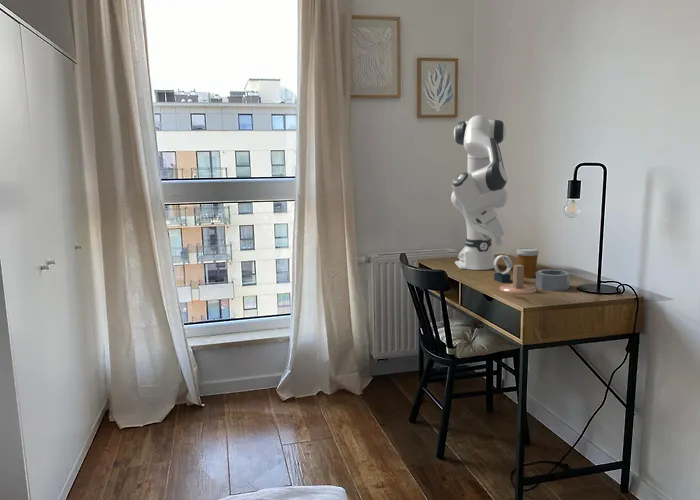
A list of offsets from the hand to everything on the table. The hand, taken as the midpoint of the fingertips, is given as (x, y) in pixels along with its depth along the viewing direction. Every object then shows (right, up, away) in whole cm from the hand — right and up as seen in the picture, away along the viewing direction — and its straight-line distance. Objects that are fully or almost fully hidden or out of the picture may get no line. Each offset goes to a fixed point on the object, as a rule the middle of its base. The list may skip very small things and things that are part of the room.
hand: (493, 241), depth 220 cm
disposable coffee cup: (+22, -15, +29) cm, 40 cm away
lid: (+11, -19, +5) cm, 23 cm away
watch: (+9, -16, +22) cm, 29 cm away
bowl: (+26, -18, +8) cm, 32 cm away
